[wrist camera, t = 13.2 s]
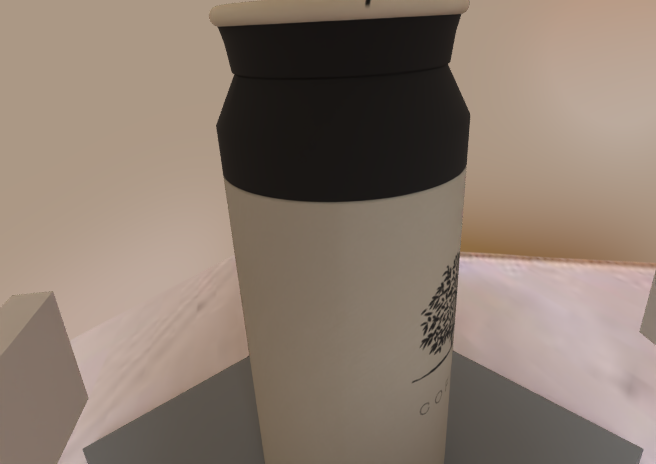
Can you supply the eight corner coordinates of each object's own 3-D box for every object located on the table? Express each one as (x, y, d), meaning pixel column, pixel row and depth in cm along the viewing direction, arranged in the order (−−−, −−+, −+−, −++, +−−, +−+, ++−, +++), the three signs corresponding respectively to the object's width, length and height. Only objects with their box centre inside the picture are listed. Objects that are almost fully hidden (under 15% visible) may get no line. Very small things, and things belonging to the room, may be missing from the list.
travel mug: (227, 458, 21) (142, 10, 13) (339, 362, 26) (322, 6, 19) (376, 579, 16) (370, -13, 9) (475, 432, 22) (523, -9, 14)
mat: (352, 310, 33) (351, 294, 33) (638, 465, 21) (644, 444, 20) (88, 464, 23) (80, 444, 22) (356, 969, 10) (354, 952, 10)
